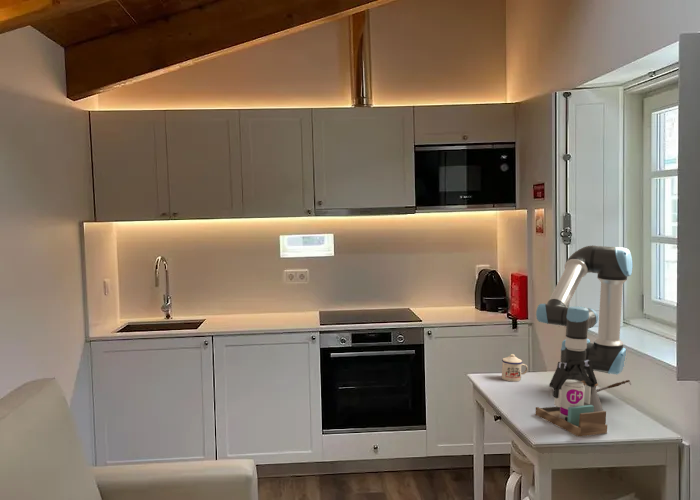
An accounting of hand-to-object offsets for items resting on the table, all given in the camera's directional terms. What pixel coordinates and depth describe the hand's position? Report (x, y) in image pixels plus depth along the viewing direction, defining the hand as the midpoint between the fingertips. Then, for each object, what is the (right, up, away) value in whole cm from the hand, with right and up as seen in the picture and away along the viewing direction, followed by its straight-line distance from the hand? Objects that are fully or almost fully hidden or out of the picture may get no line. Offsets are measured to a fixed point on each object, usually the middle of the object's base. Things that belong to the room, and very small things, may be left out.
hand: (572, 404), depth 241 cm
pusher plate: (+1, -7, -4) cm, 8 cm away
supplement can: (0, -7, 0) cm, 7 cm away
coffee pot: (+15, -7, +11) cm, 20 cm away
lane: (-1, -7, +1) cm, 7 cm away
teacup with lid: (-7, -3, +60) cm, 60 cm away
